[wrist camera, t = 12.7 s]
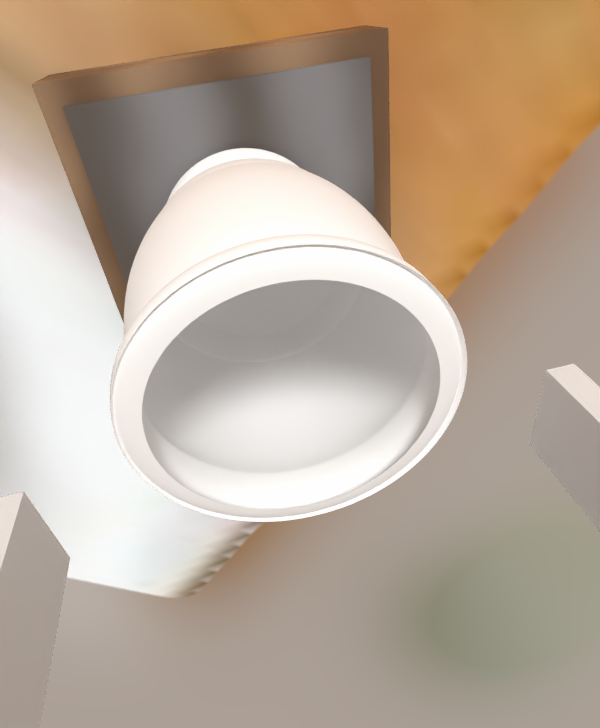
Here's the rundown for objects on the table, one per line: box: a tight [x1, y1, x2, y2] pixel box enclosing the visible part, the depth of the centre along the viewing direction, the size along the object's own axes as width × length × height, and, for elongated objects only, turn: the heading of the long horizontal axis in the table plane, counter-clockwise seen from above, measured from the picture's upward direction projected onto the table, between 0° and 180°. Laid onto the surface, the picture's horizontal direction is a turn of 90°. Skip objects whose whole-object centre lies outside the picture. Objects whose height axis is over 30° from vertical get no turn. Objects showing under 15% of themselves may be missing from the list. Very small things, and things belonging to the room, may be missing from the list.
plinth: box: [32, 26, 391, 322], centre depth 28 cm, size 16×16×4 cm
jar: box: [110, 148, 467, 522], centre depth 21 cm, size 11×10×15 cm
